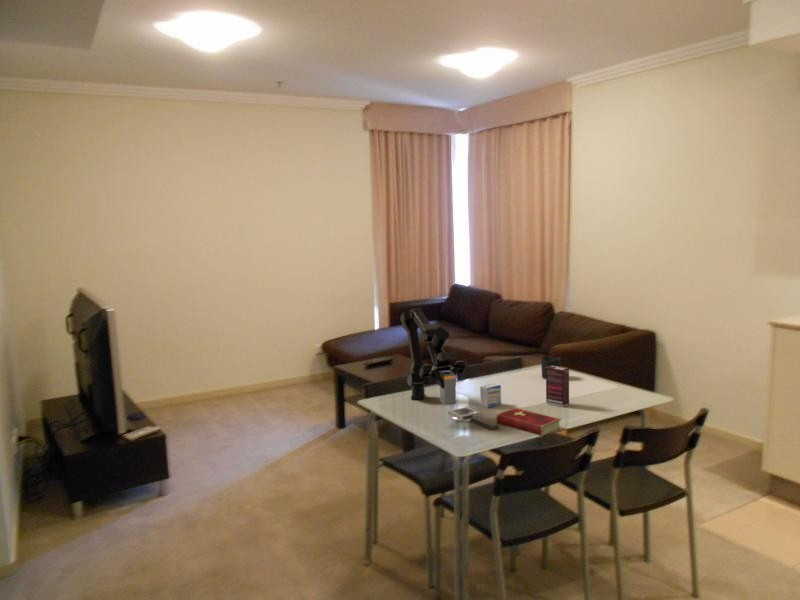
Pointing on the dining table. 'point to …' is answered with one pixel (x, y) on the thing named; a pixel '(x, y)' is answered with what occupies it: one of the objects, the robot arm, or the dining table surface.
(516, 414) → the hardcover book
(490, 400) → the medicine box
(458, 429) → the dining table surface
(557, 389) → the supplement box
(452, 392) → the grey orange-banded block
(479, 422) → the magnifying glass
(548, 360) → the pen holder
